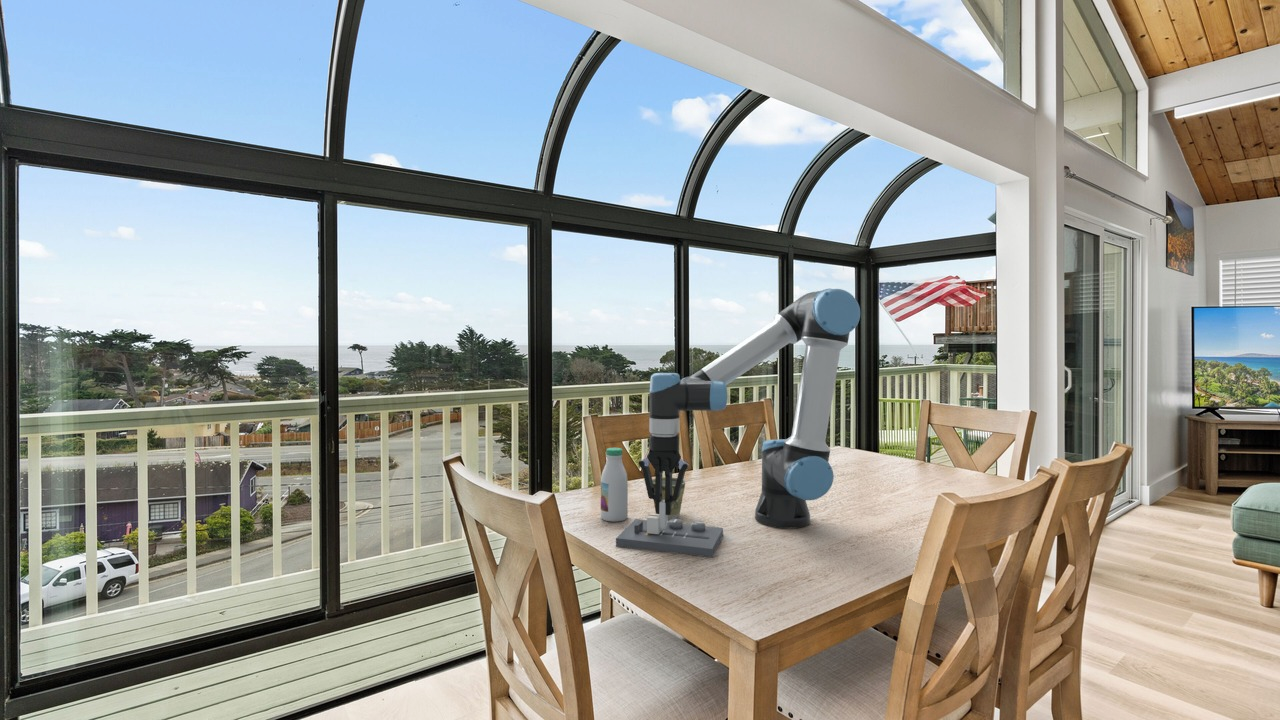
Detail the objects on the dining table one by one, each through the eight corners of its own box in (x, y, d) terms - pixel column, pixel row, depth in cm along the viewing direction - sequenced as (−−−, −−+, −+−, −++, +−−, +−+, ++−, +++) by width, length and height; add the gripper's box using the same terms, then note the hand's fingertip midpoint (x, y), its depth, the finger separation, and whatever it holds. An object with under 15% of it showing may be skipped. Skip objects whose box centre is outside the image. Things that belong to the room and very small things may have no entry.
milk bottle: (629, 514, 170) (629, 446, 169) (625, 522, 162) (626, 451, 161) (602, 513, 171) (603, 445, 170) (598, 521, 163) (598, 450, 162)
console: (722, 535, 152) (723, 520, 152) (712, 557, 137) (712, 540, 137) (635, 526, 159) (635, 511, 159) (615, 546, 144) (616, 530, 144)
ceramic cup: (679, 522, 163) (679, 486, 163) (645, 518, 166) (646, 483, 166) (691, 509, 175) (691, 476, 175) (660, 506, 179) (660, 473, 178)
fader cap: (662, 529, 150) (662, 513, 149) (658, 534, 146) (658, 518, 146) (651, 528, 151) (651, 512, 150) (646, 533, 147) (646, 516, 147)
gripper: (692, 433, 148) (691, 525, 149) (643, 430, 152) (643, 520, 153) (686, 438, 141) (685, 534, 142) (635, 435, 145) (634, 528, 146)
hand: (663, 526), depth 147 cm, fingers closed
